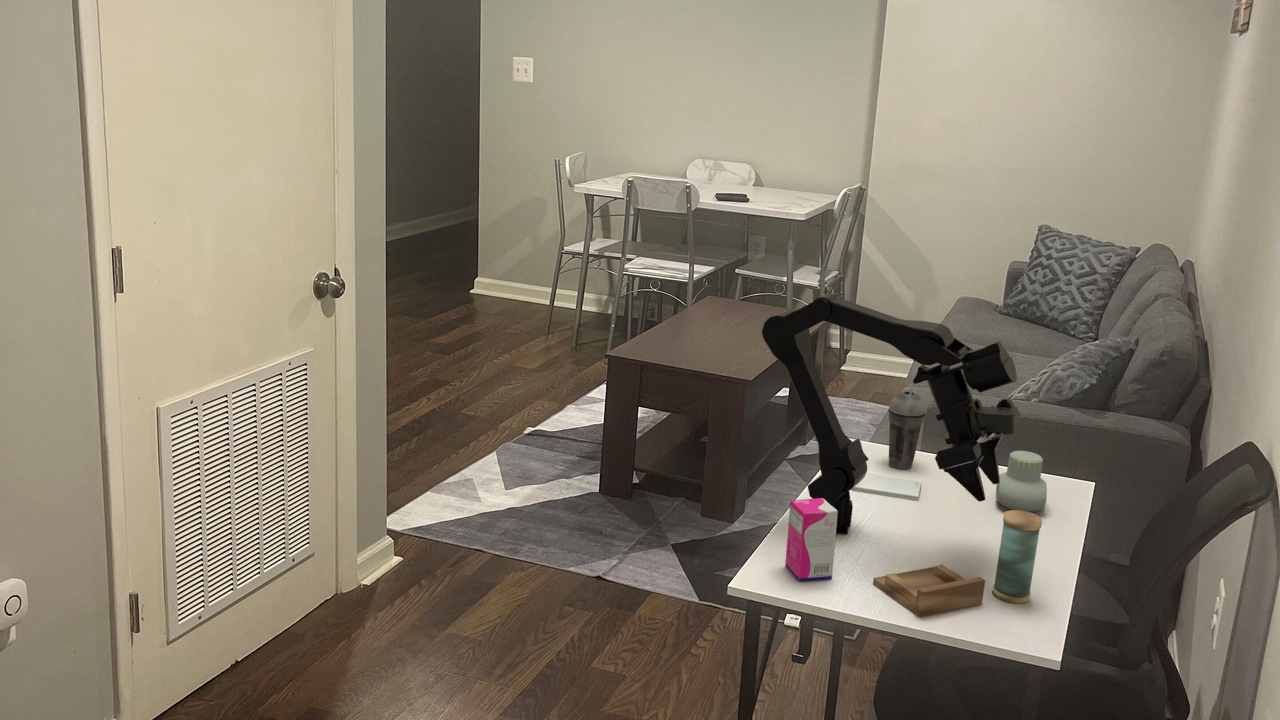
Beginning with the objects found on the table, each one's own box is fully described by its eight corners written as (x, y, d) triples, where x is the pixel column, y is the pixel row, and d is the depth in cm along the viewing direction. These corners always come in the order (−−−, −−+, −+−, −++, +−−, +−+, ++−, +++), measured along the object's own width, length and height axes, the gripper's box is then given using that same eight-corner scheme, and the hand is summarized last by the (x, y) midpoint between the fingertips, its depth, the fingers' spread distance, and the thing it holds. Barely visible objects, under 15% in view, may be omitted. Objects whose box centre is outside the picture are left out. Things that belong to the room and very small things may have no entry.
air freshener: (1044, 520, 200) (1052, 469, 197) (996, 513, 202) (1004, 462, 199) (1039, 499, 210) (1047, 449, 207) (994, 492, 212) (1001, 443, 209)
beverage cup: (874, 464, 223) (885, 369, 218) (894, 457, 228) (906, 363, 223) (905, 475, 218) (917, 378, 213) (925, 467, 223) (937, 372, 218)
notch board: (872, 583, 172) (875, 560, 171) (933, 572, 177) (936, 549, 176) (919, 617, 162) (922, 592, 161) (981, 604, 167) (985, 580, 166)
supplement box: (817, 563, 178) (824, 496, 175) (832, 579, 172) (839, 511, 169) (783, 565, 176) (789, 498, 173) (798, 582, 171) (804, 513, 168)
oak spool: (995, 601, 168) (1007, 522, 165) (989, 585, 173) (1000, 508, 170) (1033, 605, 167) (1045, 526, 164) (1025, 589, 173) (1037, 511, 169)
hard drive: (921, 481, 213) (856, 470, 216) (919, 496, 205) (851, 485, 209) (920, 489, 213) (855, 478, 217) (917, 504, 206) (850, 493, 209)
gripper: (987, 399, 164) (1025, 497, 164) (1016, 373, 180) (1051, 463, 180) (918, 420, 170) (955, 514, 170) (952, 393, 186) (986, 479, 186)
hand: (989, 492), depth 176 cm, fingers open, 9 cm apart
